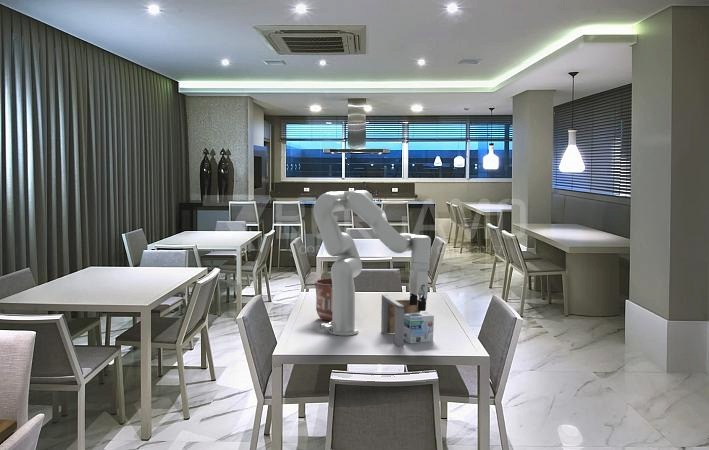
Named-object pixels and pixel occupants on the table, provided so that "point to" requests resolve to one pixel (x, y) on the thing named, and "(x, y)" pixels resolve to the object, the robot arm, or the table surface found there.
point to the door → (407, 310)
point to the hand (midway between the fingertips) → (417, 307)
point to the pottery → (324, 299)
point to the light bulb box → (418, 327)
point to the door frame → (398, 319)
